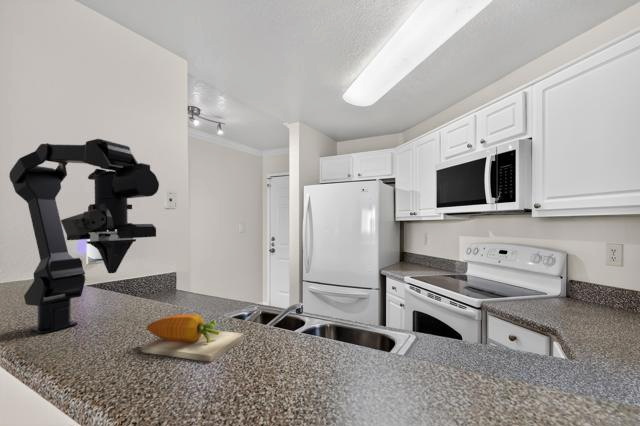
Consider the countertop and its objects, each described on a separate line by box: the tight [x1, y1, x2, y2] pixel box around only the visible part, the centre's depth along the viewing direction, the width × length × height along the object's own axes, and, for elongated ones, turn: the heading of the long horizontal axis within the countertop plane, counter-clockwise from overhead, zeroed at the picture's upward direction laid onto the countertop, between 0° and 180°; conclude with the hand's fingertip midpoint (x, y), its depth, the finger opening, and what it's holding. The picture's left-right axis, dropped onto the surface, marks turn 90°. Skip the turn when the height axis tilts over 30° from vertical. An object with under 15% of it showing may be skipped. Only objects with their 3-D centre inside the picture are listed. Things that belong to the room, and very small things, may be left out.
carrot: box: [146, 313, 220, 343], centre depth 55 cm, size 5×5×15 cm
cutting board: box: [141, 330, 245, 363], centre depth 55 cm, size 15×10×1 cm, turn 72°
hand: (112, 273), depth 62 cm, fingers closed
